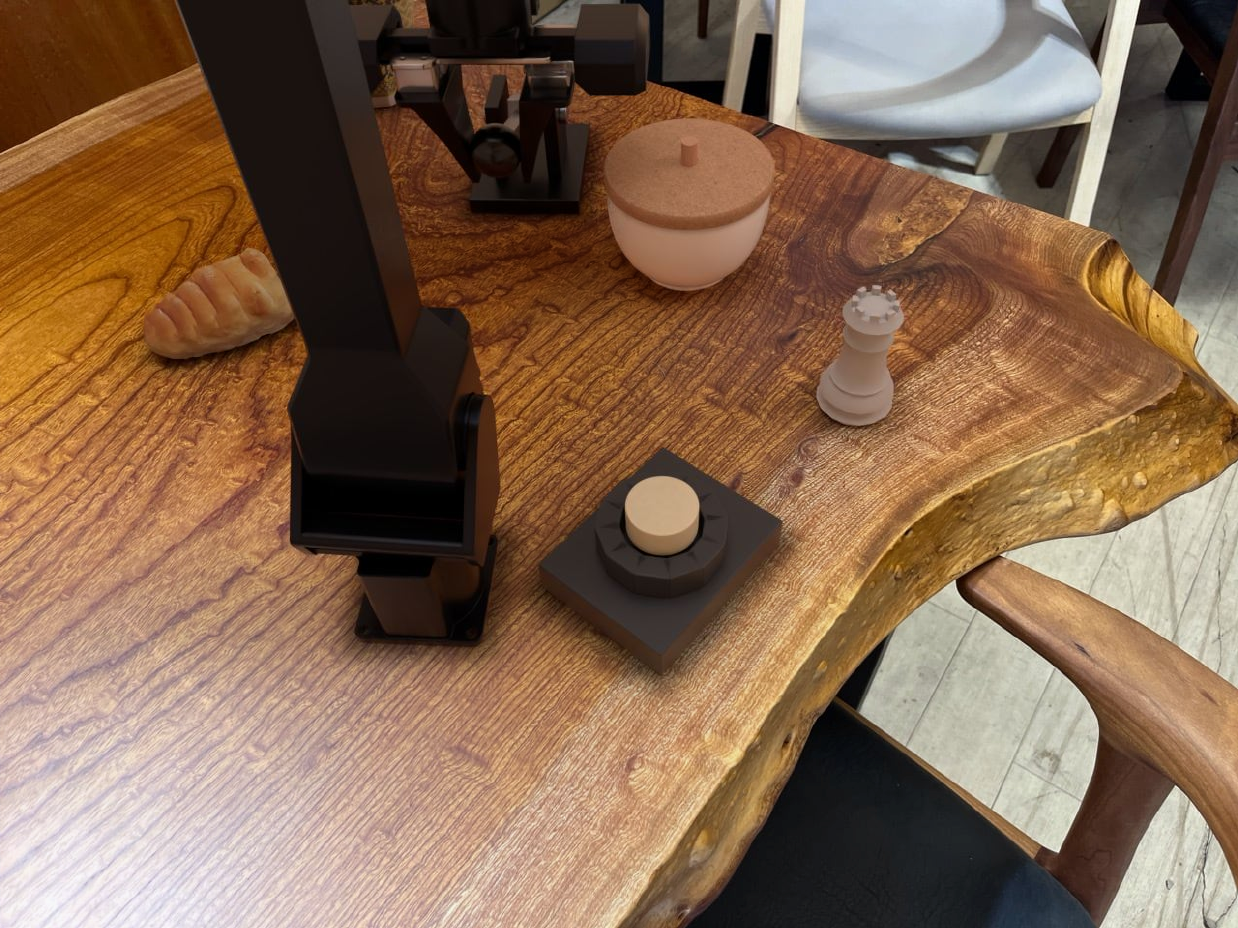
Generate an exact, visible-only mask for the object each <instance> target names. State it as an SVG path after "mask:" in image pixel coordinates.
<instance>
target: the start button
mask: <svg viewBox="0 0 1238 928" xmlns="http://www.w3.org/2000/svg"><path fill="white" fill-rule="evenodd" d="M625 520H626V531H627V534H628V537H629V539H630V540H631V541H632V543H633V544H634V545H635V546H636V547H638V548H639V549H641V550H642V551H644V552H646V553H649V554H653V555H661V556H662V555H671V554H675V553H678V552H680V551H682V550H684V549H685V548H687V547H688V546H689V545H690V544H691V543H692V542H693V541H694V539H695V537H696V535H697V532H698V523H699V500H698V497H697V495H696V493H695V492H694V490H693V489H692V488H691V487H690V486H689V485H688V484H686V483H685V482H683V481H681V480H679V479H676V478H673V477H668V476H656V477H651V478H648V479H645V480H643V481H641V482H639V483H638V484H636V485H635V486H634V487H633V488H632V489H631V490H630V492H629V493H628V495H627V498H626V501H625Z"/></svg>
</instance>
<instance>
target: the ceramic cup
mask: <svg viewBox="0 0 1238 928" xmlns="http://www.w3.org/2000/svg"><path fill="white" fill-rule="evenodd" d="M348 3H349V5H394V6H395V7H396V8H397V10H398V11H399V13H400V15H401V19H402V24H403V28H414V11H415V0H348ZM381 70H382V74H383V78H382V81H381V82H380V84H379V85H378V86H377V87H376V89H375V90H374V91H373V92H372V94H371V98H372V102H373V106H374V109H377V108H391V107H393V106H394V105H396V103H395V99H394V95H395V93H396V90H397V84H396V80H395V75H394V70H392V69H390V65H381Z"/></svg>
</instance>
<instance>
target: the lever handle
mask: <svg viewBox="0 0 1238 928" xmlns="http://www.w3.org/2000/svg"><path fill="white" fill-rule="evenodd" d="M520 94H521V92H513V93H512V94H511V95H509V98H508V99H507V112H508V119H507V120H506V121H505V123H504V124H499V123H491V124H485V125H483V126H481V127H479V128H478V129H477V130H476V131H475V132H474V136H473V137H472V140H471V143H470V156H471V159H472V162H473V164H474V165H475V167H476V168H477V169H478V170H479V171H480V172H481V173H483V174H484V175H486V176H489V177H492V178H502V177H505V176H508V175H510V174H511V173H513V172H514V171H515V170H516V168H517V167H518V166H519V164H520V128H519V98H520Z"/></svg>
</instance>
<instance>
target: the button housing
mask: <svg viewBox="0 0 1238 928" xmlns="http://www.w3.org/2000/svg"><path fill="white" fill-rule="evenodd" d="M656 476H668V477H673V478H676V479H679V480H681V481H683V482H685V483H686V484H688V485H689V486H690V487H691V488H692V489H693V490H694V492H695V493H696V495H697V497H698V500H699V523H698V532H697V535H696V537H695V539H694V541H693V542H692V543H691V544H690V545H689V546H688V547H687V548H685V549H684V550H682V551H680V552H678V553H675V554H671V555H662V556H661V555H653V554H649V553H646V552H644V551H642V550H641V549H639V548H638V547H636V546H635V545H634V544H633V543H632V541H631V540H630V539H629V537H628V534H627V531H626V520H625V501H626V498H627V495H628V493H629V492H630V490H631V489H632V488H633V487H634V486H635V485H636V484H638V483H639V482H641V481H643V480H645V479H648V478H651V477H656ZM783 523H784V521H783V520H782V519H781V518H779V517H778V516H775V515H774V514H772V513H771V512H769V511H768V510H766V509H765V508H763V507H761V506H760V505H757V504H756V503H755V502H753V501H751V500H749V498H746V497H745V496H743V495H741V494H740V493H739V492H737V491H735V490H733V489H732V488H730V487H729V486H727V485H726V484H724V483H722V482H721V481H719V480H717V479H716V478H714V477H713V476H711V475H709V474H708V473H706V472H704V470H701V469H700V468H698V467H696V466H695V465H693V464H692V463H690V462H689V461H687V460H685V459H683V458H681V457H680V456H679V455H677V454H676V453H674V452H672V451H670V450H669V449H667V448H666V447H664V446H661V447H660V449H659V450H657V451H656V452H655V453H654V454H653V455H652V456H651V457H650V458H649V459H648V460H647V461H645V463H644V464H642V466H641V467H639V468H638V469H637V470H636V471H635V472H634V473H633V474H632V475H631V476H629V477H626V478H624V479H622V480H621V481H620V482H619V483H618V484H617V485H615V486H614V487H613V488H612V489H611V490H610V491H609V492H608V493H607V494H606V495H605V496H604V497H603V498H602V499H601V500H600V503H599V506H598V507H597V508H596V509H595V510H594V511H593V512H592V513H591V514H590V515H589V516H588V517H587V518H585V519H584V520H583V522H581V523H580V524H579V525H578V526H577V527H576V528H575V529H573V530H572V532H571V533H570V534H569V535H567V536H566V538H565V539H563V540H562V541H561V542H560V543H559V544H558V545H557V546H556V547H555V548H554V549H553V550H552V551H550V553H549V554H547V556H545V558H544V559H542V560H541V561H540V562H539V563H538V564H537V566H538V571H539V572H538V573H539V577H540V584H541V587H542V588H543V590H545V591H547V592H548V593H550V594H551V595H552V596H553V597H555V598H556V599H557V600H559V601H560V602H562V604H564V605H565V606H567V607H568V608H570V609H571V610H572V611H573V612H575V613H576V614H577V615H579V616H580V617H582V618H583V619H584V620H585V621H587V622H588V623H589V624H591V625H592V626H594V628H596V629H597V630H598V631H600V632H601V633H603V634H604V635H606V637H608V638H609V639H611V640H612V641H614V642H615V643H616V644H617V645H619V646H620V647H621V648H623V649H624V650H625V651H627V653H629V654H631V655H632V656H634V657H635V658H636V659H637V660H638V661H640V662H641V663H643V664H644V665H645V666H647V667H648V668H649V669H650V670H652V671H653V672H655V673H656V674H657V675H658V676H664V674H665V673H666V672H667V671H668V670H669V669H670V667H671V666H672V665H673V664H674V662H676V661H677V660H678V658H680V656H682V654H683V652H684V651H685V650H686V649H687V648H689V646H690V645H691V644H692V642H694V640H695V639H697V637H698V636H699V635H700V634H701V633H702V631H703V630H704V629H705V628H706V627H707V626H708V625H709V624H710V622H711V621H712V620H713V619H714V618H715V617H716V616H717V615H718V614H719V612H721V610H722V609H723V608H724V606H726V604H727V603H728V602H729V601H730V600H731V599H732V598H733V596H735V594H737V592H738V591H739V590H740V589H741V588H742V586H743V585H744V584H745V583H746V582H747V581H748V580H749V579H750V578H751V576H752V575H753V574H754V573H755V572H756V571H757V570H758V568H759V567H760V566H762V564H763V563H764V562H765V561H766V560H767V559H768V558H769V556H770V555H771V554H772V553H773V552H774V551H775V549H776V548H777V547H778V546H779V545H780V541H781V535H782V528H783Z"/></svg>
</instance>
